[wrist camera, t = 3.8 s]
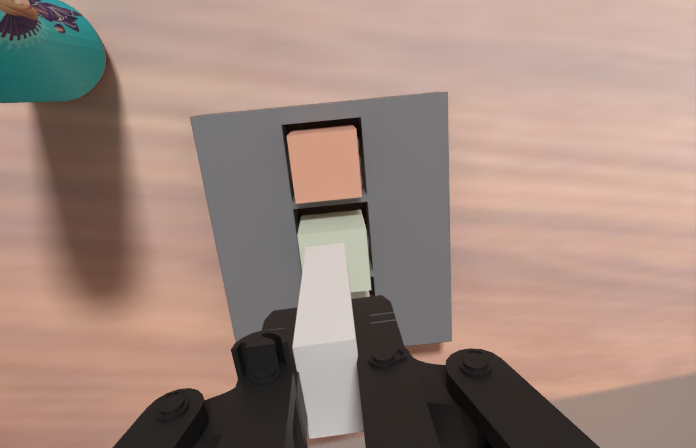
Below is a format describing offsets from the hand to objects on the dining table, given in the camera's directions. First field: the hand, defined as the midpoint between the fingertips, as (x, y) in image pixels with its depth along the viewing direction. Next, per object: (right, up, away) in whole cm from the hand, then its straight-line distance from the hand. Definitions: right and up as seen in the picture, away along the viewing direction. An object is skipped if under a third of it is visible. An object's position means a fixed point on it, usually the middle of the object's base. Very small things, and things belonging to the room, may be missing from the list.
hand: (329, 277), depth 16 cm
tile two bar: (0, +1, +12) cm, 12 cm away
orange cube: (-1, +7, +12) cm, 13 cm away
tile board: (0, +2, +14) cm, 15 cm away
